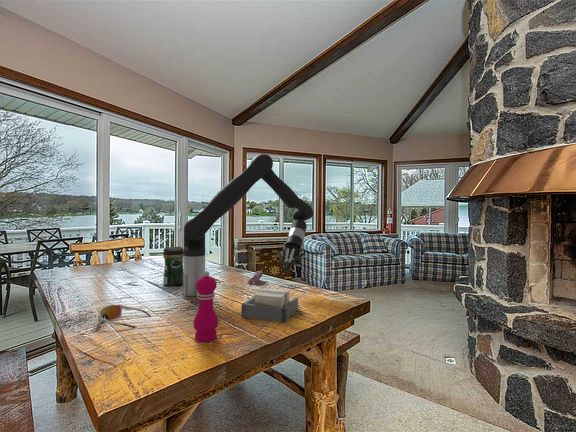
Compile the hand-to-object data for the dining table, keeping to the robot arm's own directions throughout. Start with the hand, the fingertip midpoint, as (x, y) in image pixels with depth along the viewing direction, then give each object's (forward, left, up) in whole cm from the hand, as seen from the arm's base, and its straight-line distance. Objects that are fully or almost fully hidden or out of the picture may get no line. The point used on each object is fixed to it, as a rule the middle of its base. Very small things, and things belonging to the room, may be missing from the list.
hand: (286, 271), depth 137 cm
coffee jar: (-39, +46, -12) cm, 62 cm away
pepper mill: (-39, -26, -12) cm, 49 cm away
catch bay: (-12, -13, -12) cm, 22 cm away
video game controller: (-1, +33, -12) cm, 35 cm away
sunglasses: (-61, -1, -12) cm, 63 cm away
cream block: (-13, -15, -12) cm, 23 cm away
